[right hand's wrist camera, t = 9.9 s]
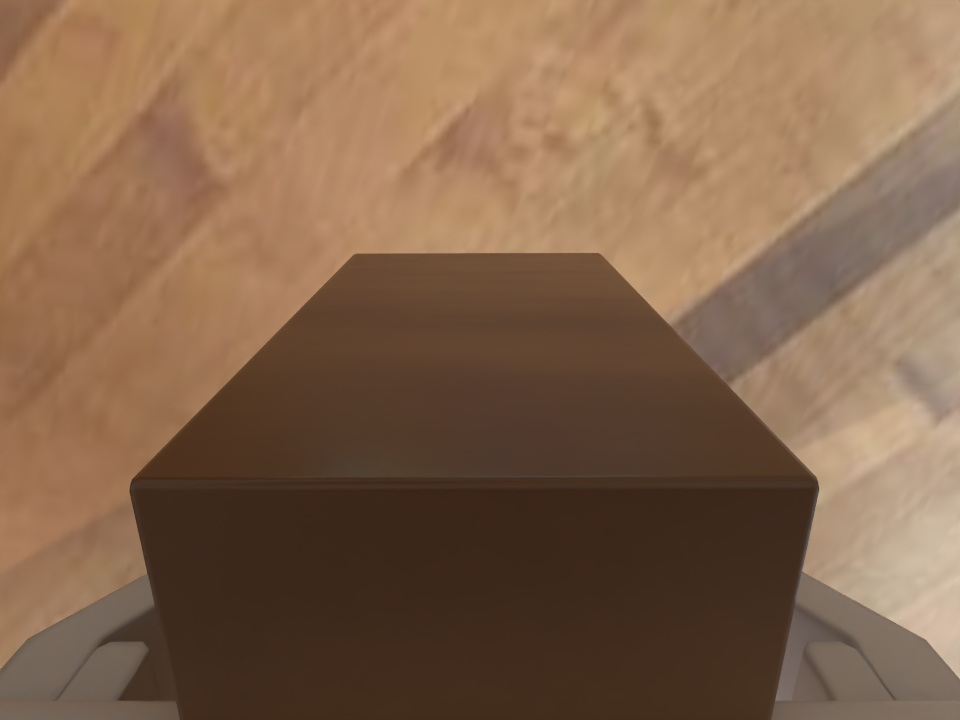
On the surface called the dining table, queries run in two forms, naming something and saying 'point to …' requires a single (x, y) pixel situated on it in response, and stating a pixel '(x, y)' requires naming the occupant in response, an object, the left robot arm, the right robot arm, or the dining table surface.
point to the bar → (475, 510)
